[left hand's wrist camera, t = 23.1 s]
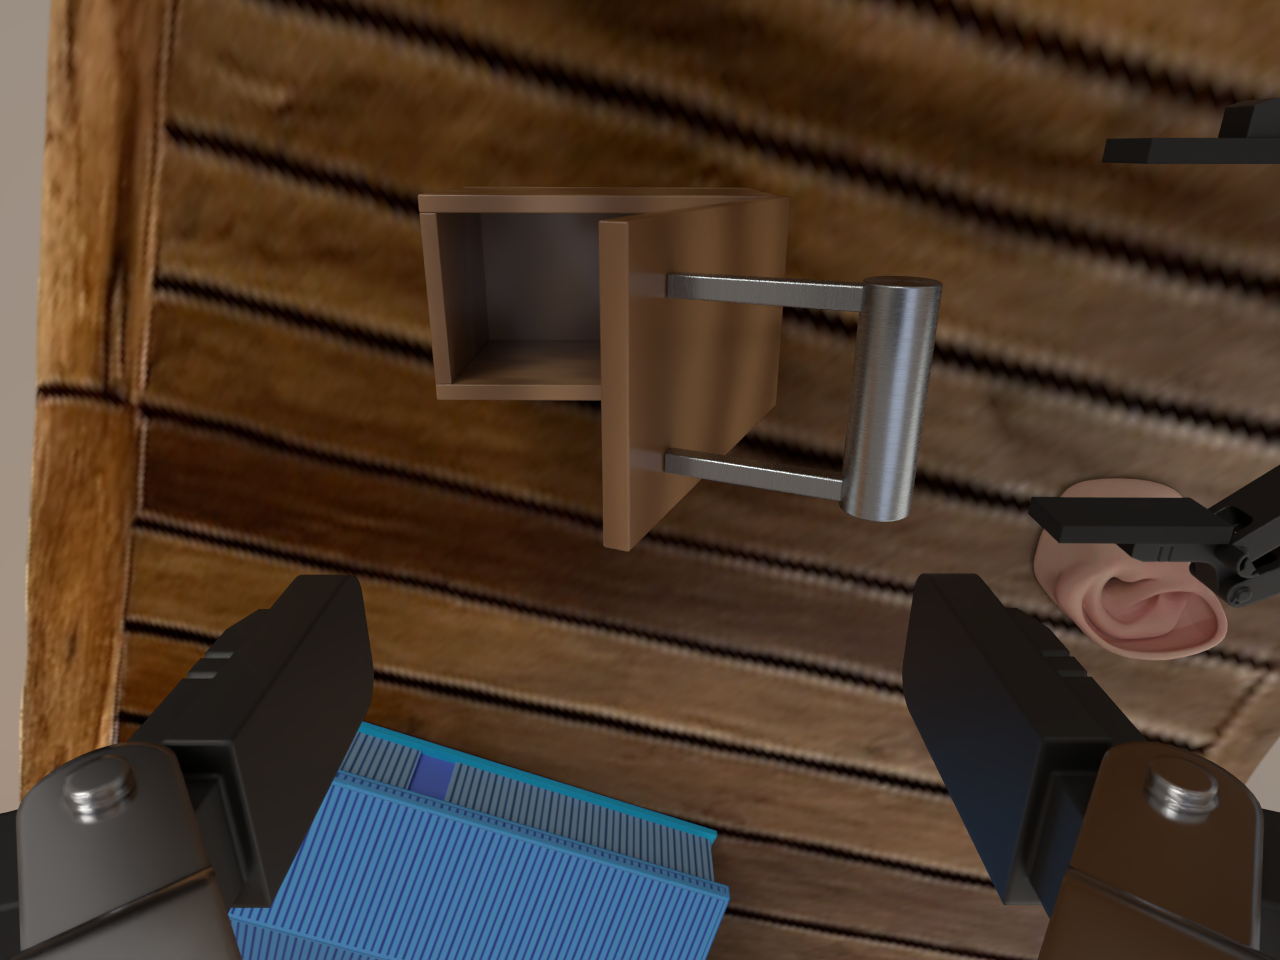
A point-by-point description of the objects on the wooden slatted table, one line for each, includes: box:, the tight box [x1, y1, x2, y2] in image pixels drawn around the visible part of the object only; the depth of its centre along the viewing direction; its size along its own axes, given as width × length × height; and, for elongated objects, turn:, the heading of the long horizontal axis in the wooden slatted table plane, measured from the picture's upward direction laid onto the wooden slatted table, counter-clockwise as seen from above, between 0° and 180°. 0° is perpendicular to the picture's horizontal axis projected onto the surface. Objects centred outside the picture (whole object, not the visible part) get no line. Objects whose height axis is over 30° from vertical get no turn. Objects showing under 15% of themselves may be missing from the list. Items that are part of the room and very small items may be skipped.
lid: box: [598, 196, 943, 551], centre depth 28 cm, size 17×10×8 cm
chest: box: [418, 187, 777, 400], centre depth 43 cm, size 16×10×11 cm, turn 90°
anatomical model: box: [1033, 478, 1227, 660], centre depth 53 cm, size 13×4×12 cm
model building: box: [228, 721, 730, 960], centre depth 61 cm, size 39×24×10 cm, turn 68°
